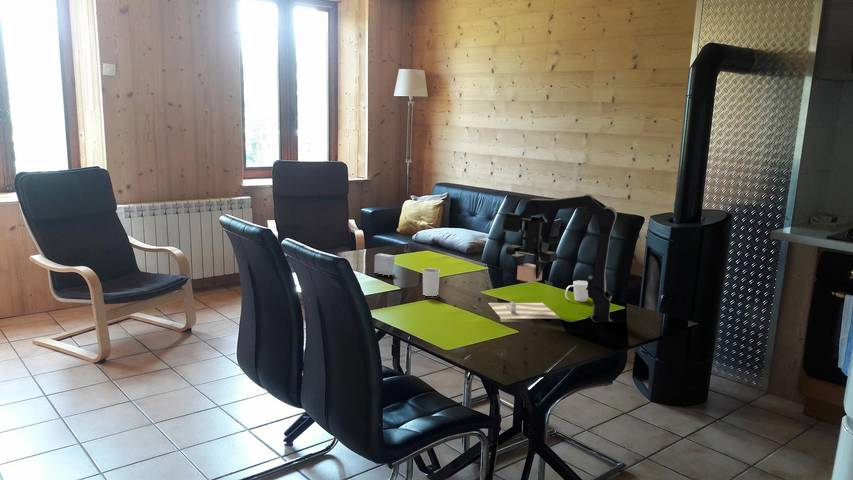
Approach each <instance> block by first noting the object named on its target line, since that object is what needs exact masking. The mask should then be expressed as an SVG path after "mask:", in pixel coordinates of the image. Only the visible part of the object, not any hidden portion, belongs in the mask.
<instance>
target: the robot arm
mask: <svg viewBox="0 0 853 480" xmlns="http://www.w3.org/2000/svg"><path fill="white" fill-rule="evenodd" d="M584 207H585V208H586V209H587V210H588V211H589V212H591V213H592V214H593V215H594V216H596V217H597V224H598V225H597V226H598V240H597V247H596V256H595V261H594V269H593V274H592V275H588V278H587V280H586V281H587V282H588V286H587V288H586V290H588V298H590V299H591V300H592V304H593V305H592V306H593V307H592V316H591V315H590V316H588V319H589V320H591V321H592V322H594V323H595V324H596V323H597V324H600V323H601V324H602V323H603V324H604V323H610V324H611V323H613V322H614V321H613V320H612V319H611V318H610V315H611V314H610V311H611V300H612V297H613V296H612V294H611V293H610V291H608V289H607V279H606V278H607V277H606V276H607V275H606V270H607V262H608V257H609V248H610V241H611V234H612V232H613V229H614V226H615V223H616V220H617V217H618V213H617V210H616V209H615V208H614V207H612V206H606V205H605V204H604V203H602V202H601V201H599V200H598V199H596V198H595V197H594V196H593V195H592V194H585V195H580V196H579V195H578V196H569V197H563V198H554V199H549V198H539V197H538V198H532V199H530V200H528V201H527V202H526V203H525V206H524V209H523V211H522V212H520V214H519V213H512V212H506V213H505V217H504V219H503V223H502V224H503V225H502V229H503V232H506V233H507V232H509V233H517V234H519V233H521V231H524V234H523V236H521V240H523V245H516V244H513V245H508V246H506V248H505V253H504V254H505V255H509V256H510V258H512V259H513V261H514V263H515V265H516V267H517V269H518V266H519V265H523V264H525V259H526V257H527V256H530V257H536V258H538V260H535V265H536V279H538V278H539V276H540V274H541V272H542V273H543V269H544V267H545V266H546V264H547V263H551V262H556V261H558V253H557V252H556V251H550V250H548V249H549V246H550V244H549V243H547V242H545V241H543V236H541V233H542V223H543V224H546V223H547V222H548V219H547V218H545V216H544V215H543V214H545V213H548V212H552V211H556V210H558V211H559V210H565V209H566V210H568V209H575V208H584ZM539 215H541V216H539ZM529 216H530V217H531V218H527V217H529Z"/></svg>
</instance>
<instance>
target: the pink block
mask: <svg viewBox="0 0 853 480" xmlns="http://www.w3.org/2000/svg"><path fill="white" fill-rule="evenodd" d="M516 271H517V272H516V273H517V274H516V280H518V281H523V282H528V283H535V282H538V281H539V282H540V281H542V280H543V279H542V278H543V271H542V272H541V274H540V276H539V278H538V279H536V264H532V263H524V264H523V265H519V266H518V268H517V270H516Z"/></svg>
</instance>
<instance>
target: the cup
mask: <svg viewBox="0 0 853 480" xmlns="http://www.w3.org/2000/svg"><path fill="white" fill-rule="evenodd" d="M587 286H588V282H587V280H574V281H573V282H572V285H571V284H570V285H568V286H567V287H566V288H565V293H564V296H565V298H566V299H567V300H568V301H570V302H571V301H572V300H571V299H570V298H569V297H568V290H569V288H573V296H574V297H573V298H574V300H575V301H576V302H582V303H584V302H587V301H588V298H589V296H588V290H586V288H587Z"/></svg>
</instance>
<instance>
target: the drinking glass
mask: <svg viewBox="0 0 853 480" xmlns="http://www.w3.org/2000/svg"><path fill="white" fill-rule="evenodd" d="M440 274H441V270H440V269H438V268H431V267H428V268H423V269H422V296H423V295H425V296H437V295H438V296H439V289H440V288H439V287H440V286H439V285H440V276H441V275H440ZM425 296H424V297H425ZM438 296H437V297H438Z"/></svg>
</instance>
